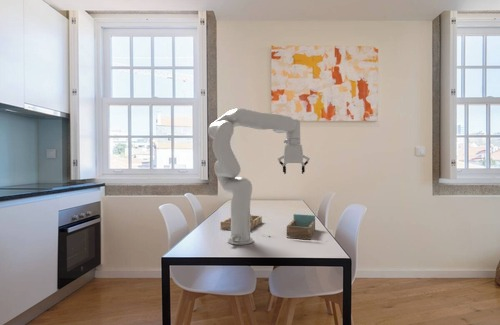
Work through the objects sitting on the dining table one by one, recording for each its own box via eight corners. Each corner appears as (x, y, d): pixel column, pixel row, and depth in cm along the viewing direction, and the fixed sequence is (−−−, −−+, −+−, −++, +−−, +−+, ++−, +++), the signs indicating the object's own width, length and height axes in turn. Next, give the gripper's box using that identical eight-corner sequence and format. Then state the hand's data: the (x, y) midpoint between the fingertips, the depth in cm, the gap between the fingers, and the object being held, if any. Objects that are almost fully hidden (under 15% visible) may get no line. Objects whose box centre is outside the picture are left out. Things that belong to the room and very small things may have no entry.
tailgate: (314, 230, 168) (314, 215, 168) (293, 228, 172) (293, 214, 172) (315, 229, 169) (315, 215, 169) (293, 227, 173) (293, 213, 173)
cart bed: (310, 240, 151) (310, 228, 151) (286, 238, 155) (286, 226, 155) (314, 232, 168) (314, 221, 168) (293, 230, 172) (293, 219, 172)
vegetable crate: (248, 231, 170) (248, 224, 170) (220, 228, 175) (220, 222, 175) (261, 222, 194) (261, 216, 194) (237, 220, 200) (237, 214, 200)
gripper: (276, 142, 164) (277, 174, 164) (309, 141, 160) (309, 174, 160) (278, 143, 171) (279, 173, 172) (309, 142, 167) (310, 173, 168)
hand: (293, 173), depth 166 cm, fingers open, 9 cm apart
